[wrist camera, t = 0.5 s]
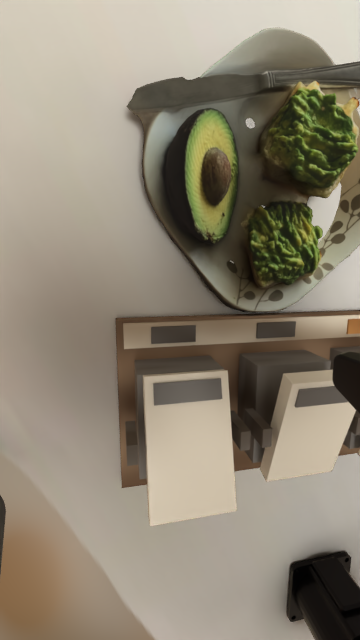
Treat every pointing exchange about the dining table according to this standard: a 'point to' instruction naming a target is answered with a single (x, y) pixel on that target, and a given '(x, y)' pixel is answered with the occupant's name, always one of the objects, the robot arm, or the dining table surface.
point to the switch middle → (306, 426)
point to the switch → (188, 446)
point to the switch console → (241, 363)
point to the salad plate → (256, 167)
